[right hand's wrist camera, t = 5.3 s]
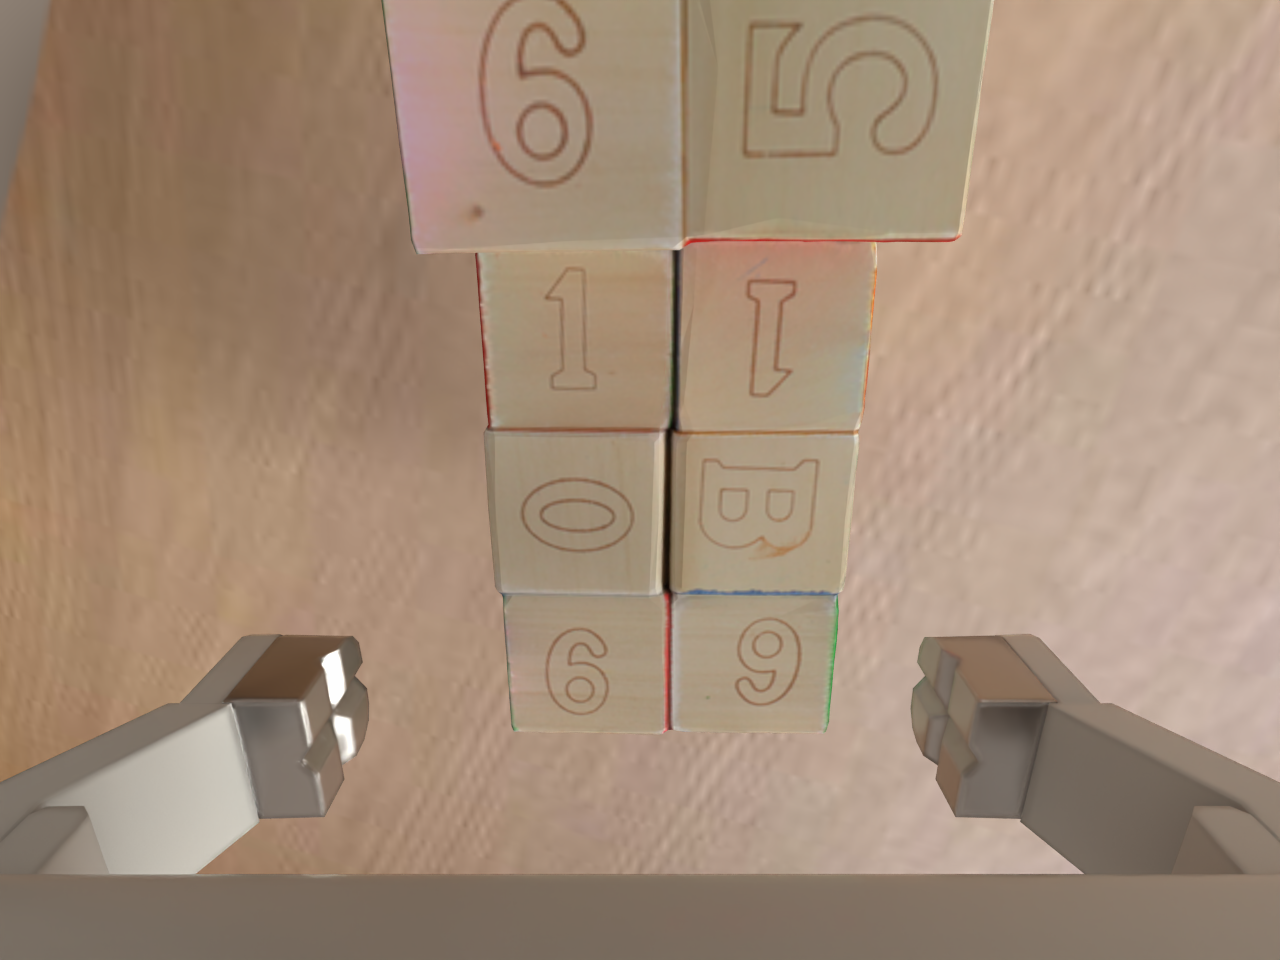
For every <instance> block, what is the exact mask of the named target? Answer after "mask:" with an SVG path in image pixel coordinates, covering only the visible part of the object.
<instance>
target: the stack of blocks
mask: <svg viewBox="0 0 1280 960" xmlns="http://www.w3.org/2000/svg"><path fill="white" fill-rule="evenodd" d="M993 4H994V0H382V8H383V16H384V24H385V32H386V39H387V47H388V55H389V63H390V71H391V79H392V87H393V95H394V103H395V112H396V120H397V129H398V137H399V146H400V153H401V161H402V168H403V175H404V183H405V190H406V197H407V205H408V212H409V222H410V233H411V241H412V244H413V246H414V249H415V251H416V254H438V253H475V256H476V268H477V280H478V294H479V308H480V321H481V334H482V347H483V360H484V375H485V390H486V403H487V415H488V423H489V425H488V426H487V428H486V430H485V432H484V445H485V461H486V478H487V494H488V509H489V521H490V532H491V544H492V556H493V567H494V579H495V587H496V589H497V591H498V592H499V593H501V594H502V596H503V607H504V629H505V643H506V654H507V670H508V683H509V699H510V710H511V723H512V728H513V730H514V731H515V732H551V733H614V734H655V735H661V734H663V733H664V732H666V731H667V730H677V731H682V732H717V733H800V734H824V733H825V732H826V729H827V726H828V723H829V711H830V700H831V690H832V680H833V668H834V658H835V651H836V642H837V630H838V613H839V610H838V594H839V593H840V592H841V591H843V588H844V583H845V578H846V568H847V557H848V548H849V538H850V529H851V519H852V508H853V497H854V487H855V476H856V467H857V460H858V451H859V436H858V430H859V428H860V425H861V422H862V418H863V413H864V408H865V393H866V386H867V377H868V366H869V356H870V343H871V329H872V318H873V307H874V296H875V286H876V275H877V244H876V242H951V241H955V240H956V239H958V238H959V237H961V236H962V229H963V223H964V217H965V211H966V204H967V196H968V189H969V181H970V173H971V166H972V158H973V150H974V143H975V136H976V129H977V121H978V114H979V104H980V92H981V85H982V78H983V72H984V65H985V59H986V52H987V46H988V39H989V33H990V26H991V18H992V11H993Z"/></svg>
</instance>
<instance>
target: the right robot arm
mask: <svg viewBox="0 0 1280 960" xmlns="http://www.w3.org/2000/svg"><path fill="white" fill-rule="evenodd" d="M362 663H363V661H362V656H361V651H360V646H359V642H358V641H357V640H356V639H355V638H354V637H353V636H322V635H284V636H283V635H281V634H269V635H248V636H244V637H242V638H241V639H240V640H239V641H238V642H237V643H236V644H235V645H234V646H233V647H232V648H231V649H230V650H229V651H228V652H227V653H226V654H225V656H224V657H223V658H222V659H221V660H220V661H219V662H218V663H217V664H216V665H215V666H214V667H213V668H212V669H211V670H210V671H209V673H208V674H207V675H206V676H205V677H204V678H203V679H202V680H201V681H200V682H199V683H198V684H197V685H196V686H195V687H194V688H193V690H192V691H191V692H190V693H189V694H188V695H187V696H186V697H185V698H184V699H183V700H182V701H181V702H180V703H171V704H166V705H164V706H161V707H159V708H157V709H155V710H153V711H151V712H149V713H147V714H144V715H142V716H140V717H138V718H136V719H134V720H132V721H130V722H127V723H125V724H123V725H121V726H119V727H117V728H115V729H113V730H110V731H108V732H106V733H104V734H102V735H100V736H98V737H96V738H93V739H91V740H89V741H87V742H85V743H83V744H81V745H79V746H76V747H74V748H72V749H70V750H68V751H66V752H64V753H62V754H59V755H57V756H55V757H53V758H51V759H49V760H47V761H45V762H43V763H40V764H38V765H36V766H34V767H32V768H30V769H28V770H26V771H23V772H21V773H19V774H17V775H15V776H13V777H11V778H9V779H6V780H4V781H2V782H0V960H1280V783H1279V782H1277V781H1275V780H1273V779H1271V778H1269V777H1267V776H1265V775H1263V774H1260V773H1258V772H1256V771H1254V770H1252V769H1250V768H1248V767H1246V766H1243V765H1241V764H1239V763H1237V762H1235V761H1233V760H1231V759H1229V758H1227V757H1224V756H1222V755H1220V754H1218V753H1216V752H1214V751H1212V750H1210V749H1207V748H1205V747H1203V746H1201V745H1199V744H1197V743H1195V742H1193V741H1191V740H1188V739H1186V738H1184V737H1182V736H1180V735H1178V734H1176V733H1174V732H1171V731H1169V730H1167V729H1165V728H1163V727H1161V726H1159V725H1157V724H1155V723H1152V722H1150V721H1148V720H1146V719H1144V718H1142V717H1140V716H1138V715H1135V714H1133V713H1131V712H1129V711H1127V710H1125V709H1123V708H1121V707H1119V706H1116V705H1114V704H1110V703H1100V702H1099V701H1098V700H1097V699H1096V698H1095V697H1094V696H1093V695H1092V694H1091V693H1090V692H1089V691H1088V689H1087V688H1086V687H1085V686H1084V685H1083V684H1082V683H1081V682H1080V681H1079V680H1078V679H1077V678H1076V677H1075V676H1074V675H1073V674H1072V672H1071V671H1070V670H1069V669H1068V668H1067V667H1066V666H1065V665H1064V664H1063V663H1062V662H1061V661H1060V660H1059V659H1058V658H1057V656H1056V655H1055V654H1054V653H1053V652H1052V651H1051V650H1050V649H1049V648H1048V647H1047V646H1046V645H1045V644H1044V643H1043V642H1042V641H1041V639H1040V638H1038V637H1036V636H1033V635H1031V634H1017V635H995V636H958V637H924V639H923V642H922V644H921V646H920V649H919V655H918V661H917V663H918V664H919V666H920V668H921V669H922V671H923V673H924V674H925V677H924V678H923V679H922V680H921V681H920V682H919V683H918V684H917V685H916V686H915V687H914V688H913V693H912V702H911V717H912V728H913V731H914V735H915V738H916V741H917V744H918V746H919V748H920V750H921V752H922V754H923V756H925V757H926V758H928V759H929V760H931V761H932V762H934V763H935V764H937V765H938V768H937V774H936V781H937V783H938V785H939V787H940V789H941V790H942V792H943V794H944V796H945V798H946V800H947V802H948V804H949V806H950V807H951V809H952V811H953V813H954V815H955V817H975V818H1011V819H1021V821H1020V822H1021V823H1023V824H1024V825H1025V826H1026V827H1028V828H1029V829H1030V830H1031V831H1032V832H1034V833H1035V834H1036V835H1037V836H1039V837H1040V838H1041V839H1042V840H1044V841H1045V842H1046V843H1047V844H1048V845H1050V846H1051V847H1052V848H1053V849H1055V850H1056V851H1057V852H1058V853H1060V854H1061V855H1062V856H1063V857H1064V858H1066V859H1067V860H1068V861H1069V862H1071V863H1072V864H1073V865H1074V866H1076V867H1077V868H1078V869H1079V870H1080V871H1082V872H1083V873H1084V874H196V873H197V872H198V871H200V870H201V869H202V868H203V867H205V866H206V865H207V864H208V863H210V862H211V861H212V860H213V859H215V858H216V857H217V856H218V855H219V854H221V853H222V852H223V851H224V850H226V849H227V848H228V847H229V846H231V845H232V844H233V843H234V842H236V841H237V840H238V839H239V838H240V837H242V836H243V835H244V834H245V833H247V832H248V831H249V830H250V829H252V828H253V827H254V826H255V825H256V824H258V823H259V819H269V818H303V817H325V815H326V813H327V811H328V809H329V808H330V806H331V804H332V802H333V800H334V798H335V796H336V794H337V792H338V790H339V789H340V787H341V785H342V783H343V781H344V774H343V768H342V765H343V764H345V763H346V762H348V761H349V760H351V759H352V758H354V757H355V756H357V754H358V752H359V750H360V748H361V746H362V744H363V742H364V739H365V734H366V730H367V725H368V721H369V700H368V693H367V688H366V687H365V686H364V685H363V684H362V683H361V682H360V681H359V680H358V679H357V678H356V677H355V674H356V673H357V671H358V669H359V668H360V666H361V664H362Z"/></svg>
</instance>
